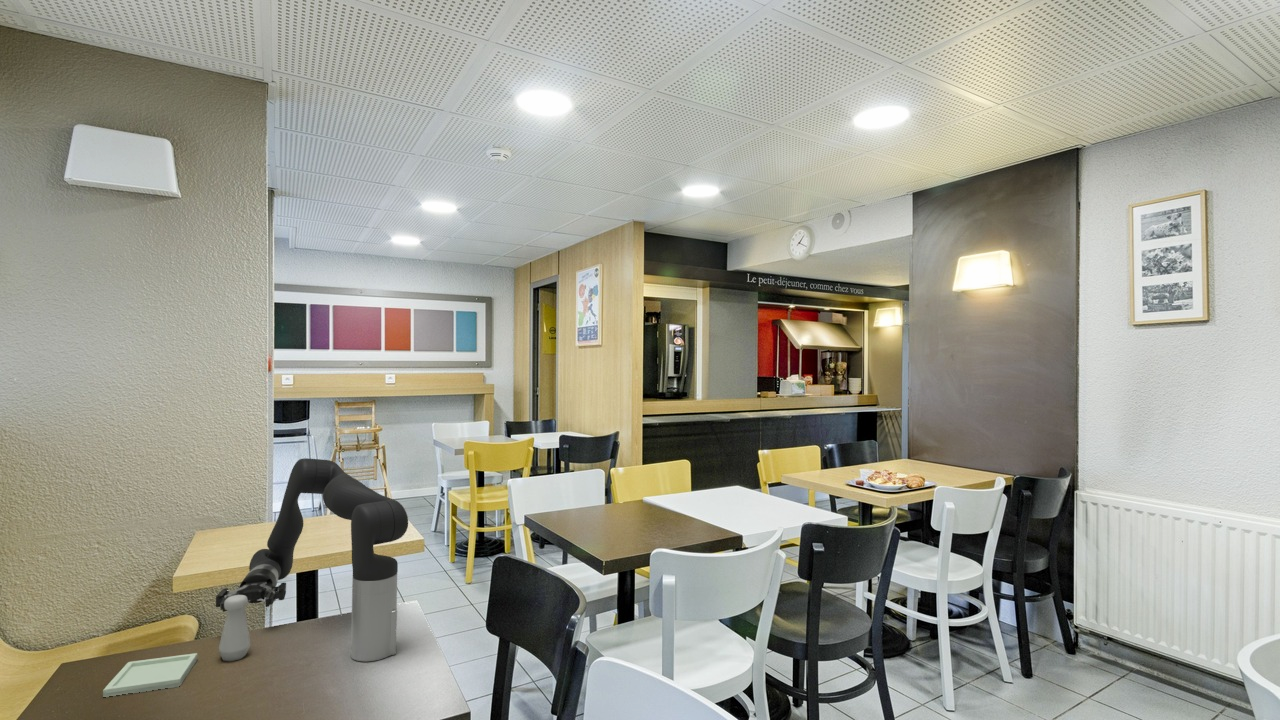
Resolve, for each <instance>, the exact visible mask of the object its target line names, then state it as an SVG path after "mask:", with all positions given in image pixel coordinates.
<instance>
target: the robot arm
mask: <svg viewBox="0 0 1280 720" xmlns="http://www.w3.org/2000/svg"><path fill="white" fill-rule="evenodd" d="M301 494H311V495H313V494H315V495H318V494H319V495H322V501H323V504H324V505H325V507H326V508H327V509H328V510H329V511H331V513H332V514H334V515H336V516H337V517H339V518H341V519H344V520H348V521H350V535H351V536H350V537H351V538H350V539H351V567H352V587H351V588H352V589H351V590H352V592H351V593H352V594H351V622H350V623H351V626H350V627H351V628H350V635H351V636H350V657H351V659H352V660H354V661H357V662H374V661H379V660H383V659H385V658H387V657H389V656H394V655H396V654H397V621H398V616H397V615H398V611H397V610H398V608H397V607H398V604H397V603H398V602H397V601H398V566H399V565H398V560H397V559H396V558H394V557H393V556H390V555H389V556H388V555H381V554H377V553H375V551H374V546H375V545H382V544H385V543H387V544H388V543H391V542H394V541H397V540H399V539H401V538H402V537H403V536H404V535H405V533H406V532H407V530H408V528H409V517H408V514H407V512H406V509H405V507H404V506H403V505H402V504H401V503H400V502H399V501H397V500H396V499H394V498H390V497H388V496H385V495H382V494H381V493H378V492H376V491H375V490H373V489H372V488H370V487H368V486H367V485H365V484H364V483H362V482H361V481H360V480H359V479H357V478H354V477H352V476H350V475H349V474H348V473H346V472H345V471H344V470H343V469H342V467H341V466H340V465H339V464H337V462H335V461H333V460H330V459H320V458H319V459H318V458H306V457H305V458H300V459H298V460H297V461H296V462H295V463H294V465H293V467H292V468H291V471H290V473H289V478H288V481H287V484H286V488H285V491H284V495H283V498H282V501H281V502H282V503H281V507H280V510H279V513H278V517H277V519H276V521H275V524H274V526H273V529H272V531H271V532H270V535H269V537H268V540H267V541H266V542H267V543H266V546H267V548H261V549H259V550H257V551H256V552H255V553H254V554H253V555H252V557H251V560H250V561H249V567H248V573H247V574H246V576H245V577H244V578H243V580H242V581H241V583H240V585H239V586H238V587H237V588H236V589H234V590H229V587H228V588H227V587H226V588H223V589H221V591H219V592H218V593H217V595H215V608H219V609H220V610H221V611H222V612H223V613H224V612H228V610H225V608H224V602H225V600H226V599H227V598H228V597H231V596H235V595H245V596H246V597H247V599H248V603H249V604H259V603H262V602H264V603H265V604H264V607H265V608H269V607H270V606H271V605H273V604H274V602H276V600H278V601H284V600H285V598H286V594H287V582H286V581H285V582H281V583H280V584H278V581H280V580H281V581H282V580H283V579H285V578H287V577H288V576H289V574H290V573H291V570H292V568H293V564H294V552H295V551H294V550H295V547H296V545H297V542H298V541H299V538H300V536H301V534H302V532H303V529H304V517H303V515H302V512H301V509H300V505H299V498H300V495H301ZM277 584H278V586H277Z"/></svg>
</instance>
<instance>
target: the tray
mask: <svg viewBox="0 0 1280 720" xmlns="http://www.w3.org/2000/svg"><path fill="white" fill-rule="evenodd" d="M197 661H198V652H196V653H189V654H180V655H173V656H164V657H158V658H157V657H156V658H149V659H142V660H133V661H128V662H127V663H126V664H125V665H124V666H123V667H122V669H121V670H120V671H119V672H117V674H116V675H115V676H114V677H113V678H112V680H110V681H109V683H108V684H107V685H106V686H104V687H105V688H104V689H103V690H102V698H103V697H106V698H110V697H109V696H113V697H117V696H116V695H120V696H123V695H122V694H126V695H129V694H128V693H133V694H139V692H140V693H145V692H146V691H147V692H153V691H152V690H154V691H159V690H158V689H161V690H166V689H165V688H168V689H174V688H180V687H179V686H181V685H182V683H183V682H184V680H185V679H186V678H187V676H188V675H189V673H190V672H191V670H192V669H193V667H194V666H195V664H196V662H197Z"/></svg>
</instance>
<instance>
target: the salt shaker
mask: <svg viewBox="0 0 1280 720" xmlns="http://www.w3.org/2000/svg"><path fill="white" fill-rule="evenodd" d="M248 603H249V602H248V599H247V597H246V596H245V595H235V596H231V597H228V598H227V599H226V600H225V602H224V608H225V610H227V611H226V612H227V613H226V616H225V617H226V618H225V621H224V626H223V629H222V632H221V637H220V639H219V644H218V653H219V655H220V656H221V659H222V660H223V661H224V662H234V661H238V660H241V659H242V658H244V657H245V656H246V655H247V653H248V652H249V649H250V647H251V640H250V637H251V636H250V633H249V626H248V622H247V621H248V620H247V615H246V607H247V606H248Z"/></svg>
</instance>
